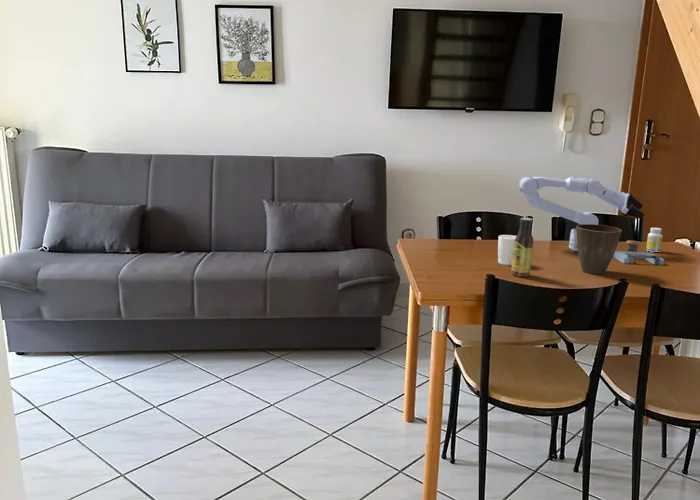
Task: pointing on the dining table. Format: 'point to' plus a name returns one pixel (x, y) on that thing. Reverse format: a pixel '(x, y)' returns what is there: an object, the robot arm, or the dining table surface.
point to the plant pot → (596, 246)
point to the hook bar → (643, 257)
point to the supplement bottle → (654, 240)
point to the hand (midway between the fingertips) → (642, 211)
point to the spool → (633, 245)
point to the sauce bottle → (523, 249)
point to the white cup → (505, 249)
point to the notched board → (623, 258)
